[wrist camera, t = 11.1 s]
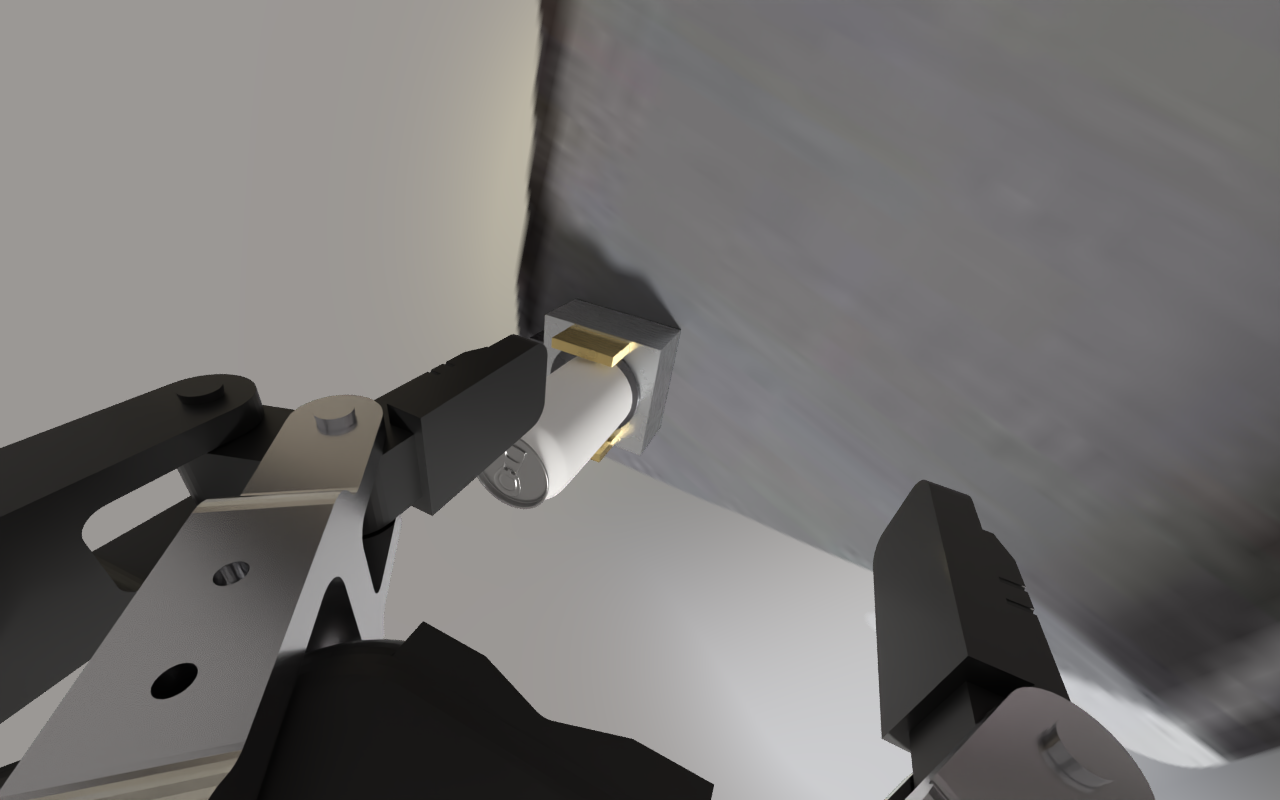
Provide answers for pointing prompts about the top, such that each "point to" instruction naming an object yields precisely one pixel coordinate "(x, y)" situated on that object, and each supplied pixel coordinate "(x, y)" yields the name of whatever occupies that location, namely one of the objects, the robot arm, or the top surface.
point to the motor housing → (617, 362)
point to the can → (561, 433)
